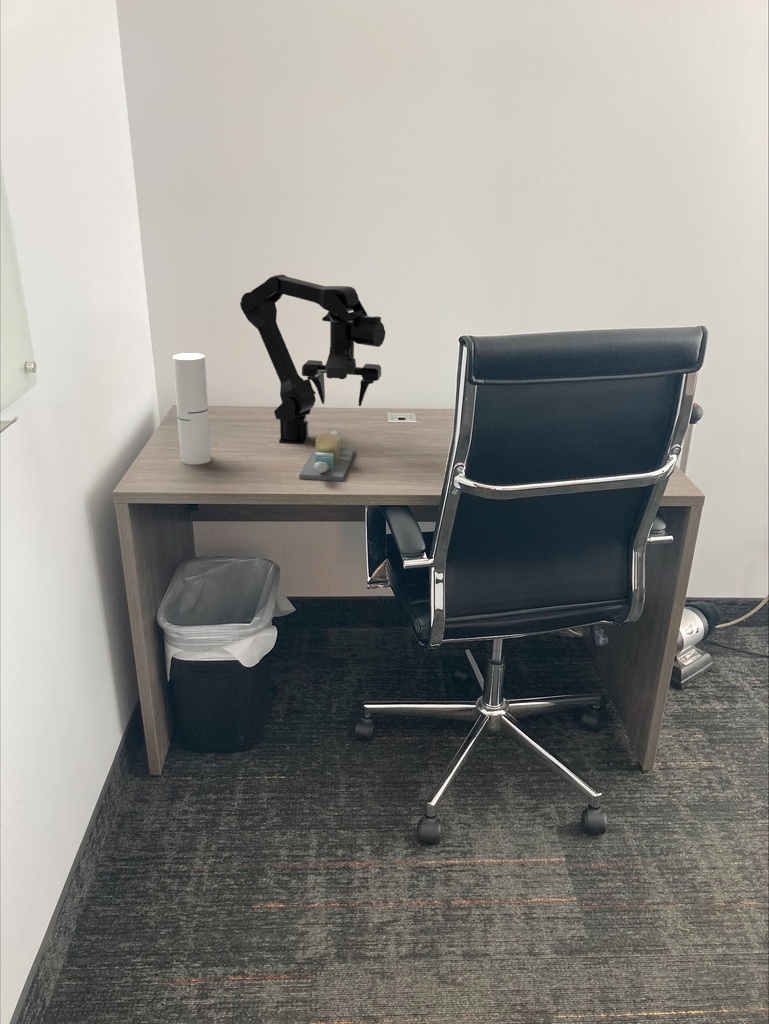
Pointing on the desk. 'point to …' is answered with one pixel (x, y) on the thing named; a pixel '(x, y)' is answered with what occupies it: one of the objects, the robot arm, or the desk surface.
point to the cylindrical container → (192, 408)
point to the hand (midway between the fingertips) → (341, 404)
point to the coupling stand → (327, 465)
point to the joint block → (329, 445)
